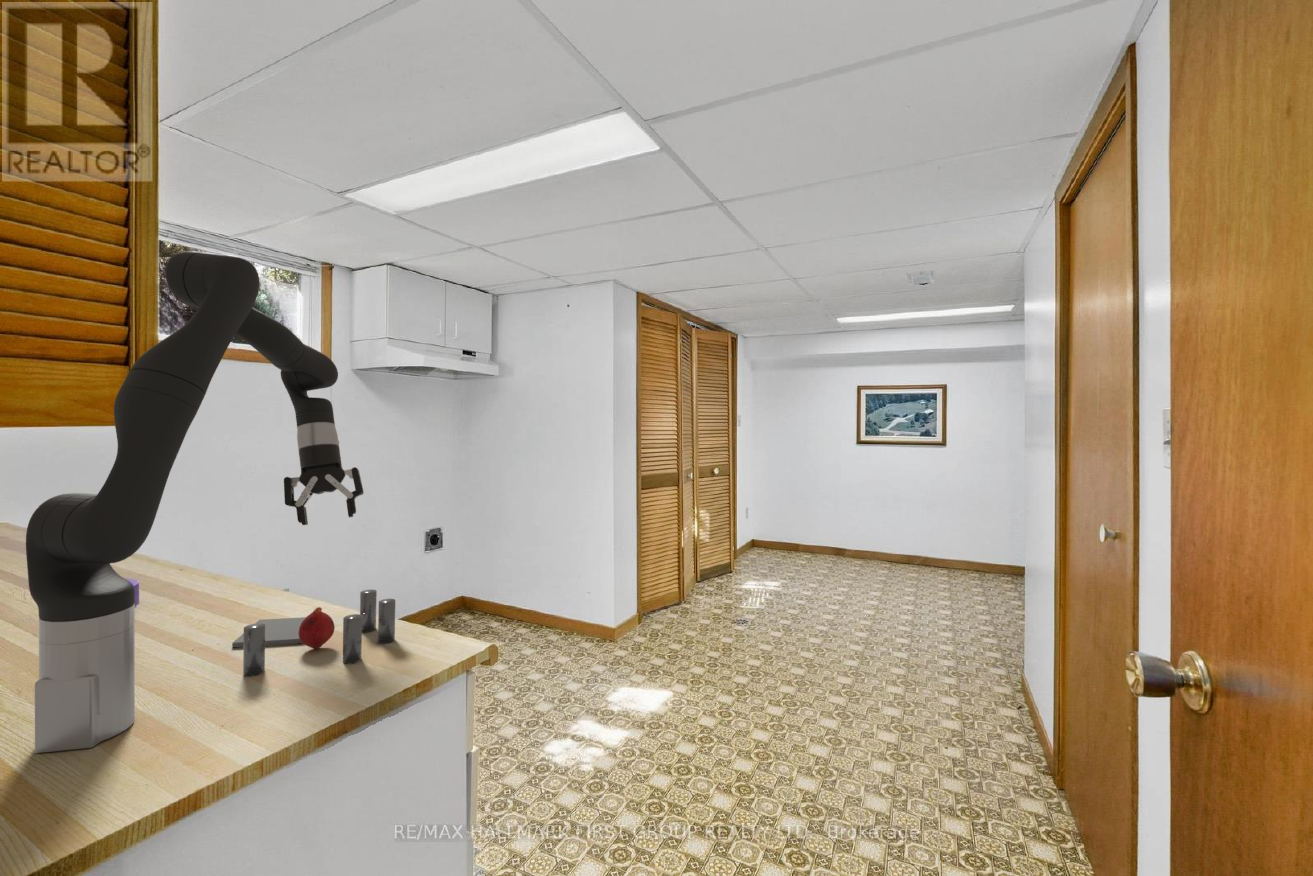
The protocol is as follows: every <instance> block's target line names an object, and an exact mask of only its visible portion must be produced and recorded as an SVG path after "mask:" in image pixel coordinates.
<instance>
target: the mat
mask: <svg viewBox="0 0 1313 876" xmlns="http://www.w3.org/2000/svg"><path fill="white" fill-rule="evenodd" d="M306 617H307V616H304V617H303V616H301V617H287V618H286V617H285V618H268V619H266V618H265V619H264V618H263V619H258V620H257V622H255V623H254V624H257V623H263V624H265V647H269V646H270V647H272V646H284V645H285V646H286V645H287V646H288V645H299V644H298V643H302V642H301V640H300V639H299V634H298V633H299V627H300V625H301V623H302V621H303V620H304V619H305V618H306ZM232 647H241V648H244V632H243V633H242V634H241V635H240V636H239V637H237V638H236V639H235V640H234V641H233V642H232V646H231V648H232Z"/></svg>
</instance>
